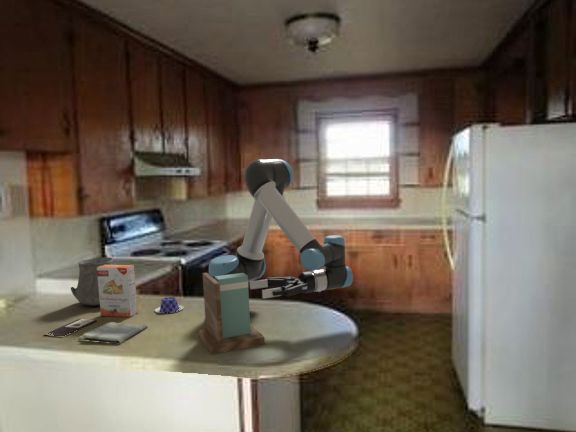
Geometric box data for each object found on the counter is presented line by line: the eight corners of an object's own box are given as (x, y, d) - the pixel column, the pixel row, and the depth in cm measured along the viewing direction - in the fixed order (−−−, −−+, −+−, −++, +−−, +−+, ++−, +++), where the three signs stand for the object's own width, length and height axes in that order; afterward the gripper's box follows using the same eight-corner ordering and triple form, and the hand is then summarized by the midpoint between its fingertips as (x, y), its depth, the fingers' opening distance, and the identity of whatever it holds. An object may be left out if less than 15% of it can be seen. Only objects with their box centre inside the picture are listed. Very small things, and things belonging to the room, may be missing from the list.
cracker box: (100, 316, 194) (95, 267, 192) (108, 312, 200) (104, 264, 198) (130, 318, 191) (126, 267, 188) (138, 313, 196) (134, 264, 194)
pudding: (151, 309, 202) (150, 298, 201) (178, 304, 208) (177, 293, 207) (159, 316, 191) (158, 304, 191) (187, 311, 198) (187, 298, 197)
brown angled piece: (248, 327, 172) (244, 267, 170) (264, 344, 156) (261, 277, 154) (199, 336, 166) (195, 274, 163) (211, 354, 149) (207, 285, 147)
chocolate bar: (43, 334, 174) (78, 319, 191) (43, 337, 174) (79, 321, 191) (63, 336, 171) (97, 320, 188) (63, 338, 171) (97, 322, 188)
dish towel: (149, 328, 178) (148, 320, 178) (120, 346, 161) (119, 337, 161) (108, 326, 183) (107, 318, 183) (75, 343, 166) (74, 334, 166)
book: (218, 333, 160) (214, 276, 158) (246, 328, 164) (243, 272, 162) (221, 338, 156) (218, 279, 154) (250, 333, 160) (247, 275, 157)
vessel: (80, 314, 199) (76, 267, 197) (69, 303, 217) (65, 260, 215) (131, 303, 212) (128, 259, 210) (116, 294, 230) (113, 253, 227)
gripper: (328, 300, 158) (268, 309, 150) (298, 284, 181) (245, 292, 173) (327, 278, 158) (267, 286, 150) (297, 265, 181) (244, 272, 173)
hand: (255, 289), depth 162 cm, fingers open, 13 cm apart
